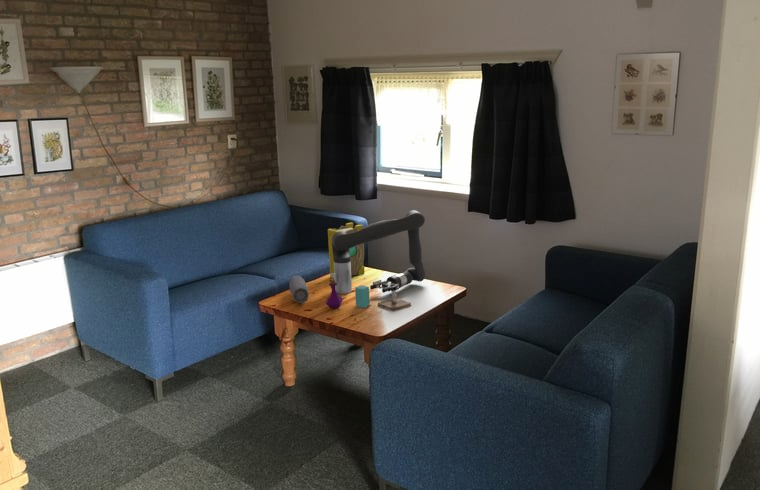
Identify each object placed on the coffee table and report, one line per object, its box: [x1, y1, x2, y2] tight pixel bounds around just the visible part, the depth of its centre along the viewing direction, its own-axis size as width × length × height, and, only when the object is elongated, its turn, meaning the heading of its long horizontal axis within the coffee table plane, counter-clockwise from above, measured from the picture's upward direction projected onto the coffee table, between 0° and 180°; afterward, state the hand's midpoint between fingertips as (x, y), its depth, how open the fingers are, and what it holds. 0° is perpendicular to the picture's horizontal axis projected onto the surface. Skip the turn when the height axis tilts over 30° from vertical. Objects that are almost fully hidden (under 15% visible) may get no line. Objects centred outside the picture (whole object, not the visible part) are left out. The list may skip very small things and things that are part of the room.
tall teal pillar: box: [354, 284, 371, 309], centre depth 336 cm, size 5×5×10 cm
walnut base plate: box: [377, 290, 412, 312], centre depth 334 cm, size 12×12×8 cm
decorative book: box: [327, 222, 365, 278], centre depth 386 cm, size 20×11×30 cm, turn 132°
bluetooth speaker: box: [288, 275, 310, 304], centre depth 350 cm, size 23×9×10 cm, turn 12°
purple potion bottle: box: [325, 273, 344, 310], centre depth 334 cm, size 8×8×18 cm
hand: (376, 289), depth 343 cm, fingers open, 8 cm apart
